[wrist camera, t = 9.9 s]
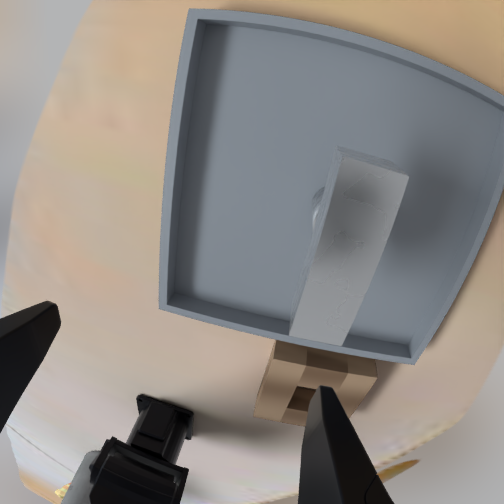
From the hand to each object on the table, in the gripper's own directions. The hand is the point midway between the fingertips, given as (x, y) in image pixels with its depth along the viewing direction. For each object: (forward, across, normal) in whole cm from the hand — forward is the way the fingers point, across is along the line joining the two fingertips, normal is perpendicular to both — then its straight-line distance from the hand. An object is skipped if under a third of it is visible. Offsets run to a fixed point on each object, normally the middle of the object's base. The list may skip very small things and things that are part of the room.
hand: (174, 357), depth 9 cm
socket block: (+12, -8, +13) cm, 19 cm away
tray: (+12, -5, -2) cm, 13 cm away
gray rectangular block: (+12, -5, -2) cm, 13 cm away
